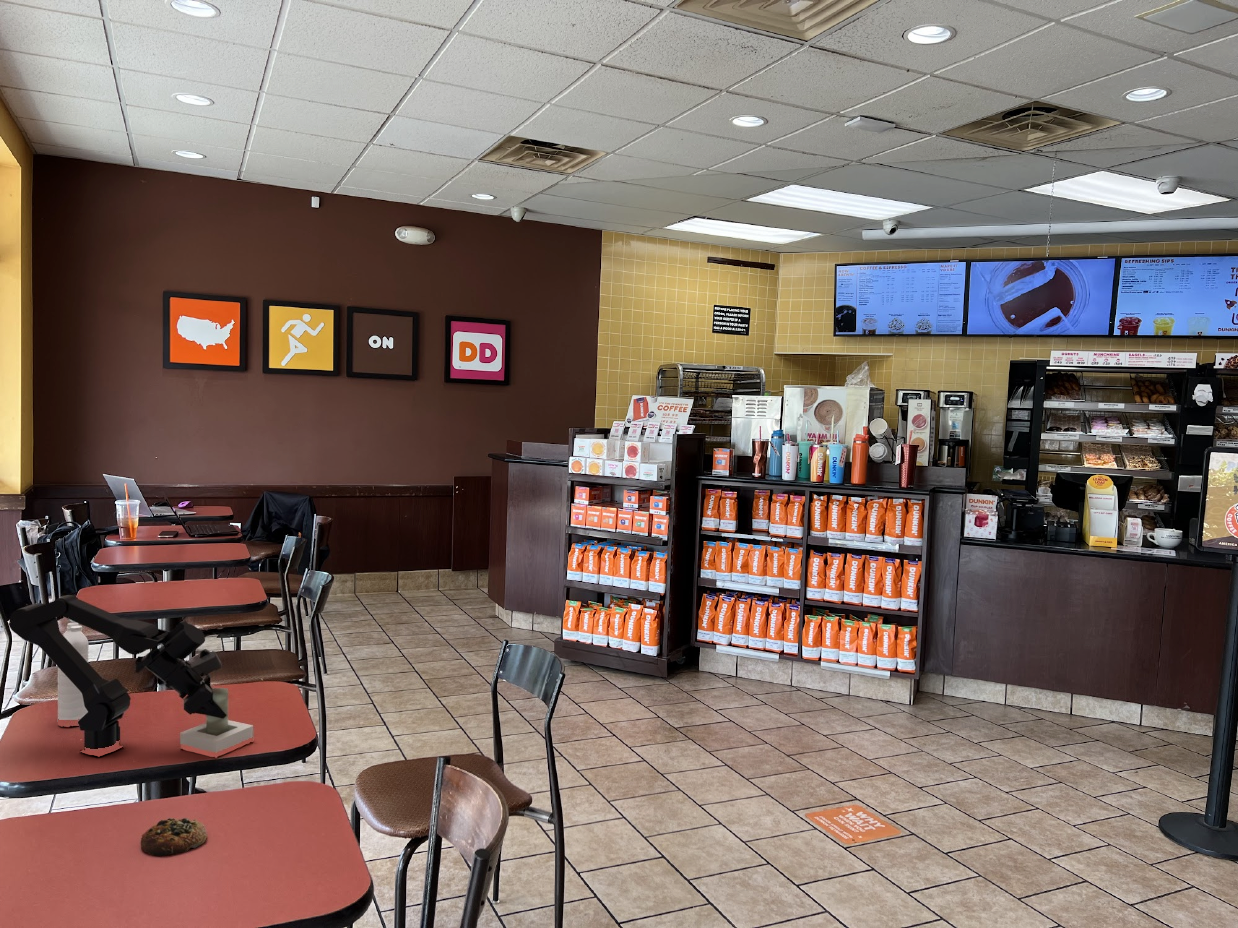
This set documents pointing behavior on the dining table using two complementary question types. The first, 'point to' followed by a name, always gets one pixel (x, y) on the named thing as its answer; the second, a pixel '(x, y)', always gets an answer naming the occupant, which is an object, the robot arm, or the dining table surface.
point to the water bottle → (67, 691)
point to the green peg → (213, 723)
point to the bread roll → (173, 837)
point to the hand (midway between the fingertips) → (224, 711)
